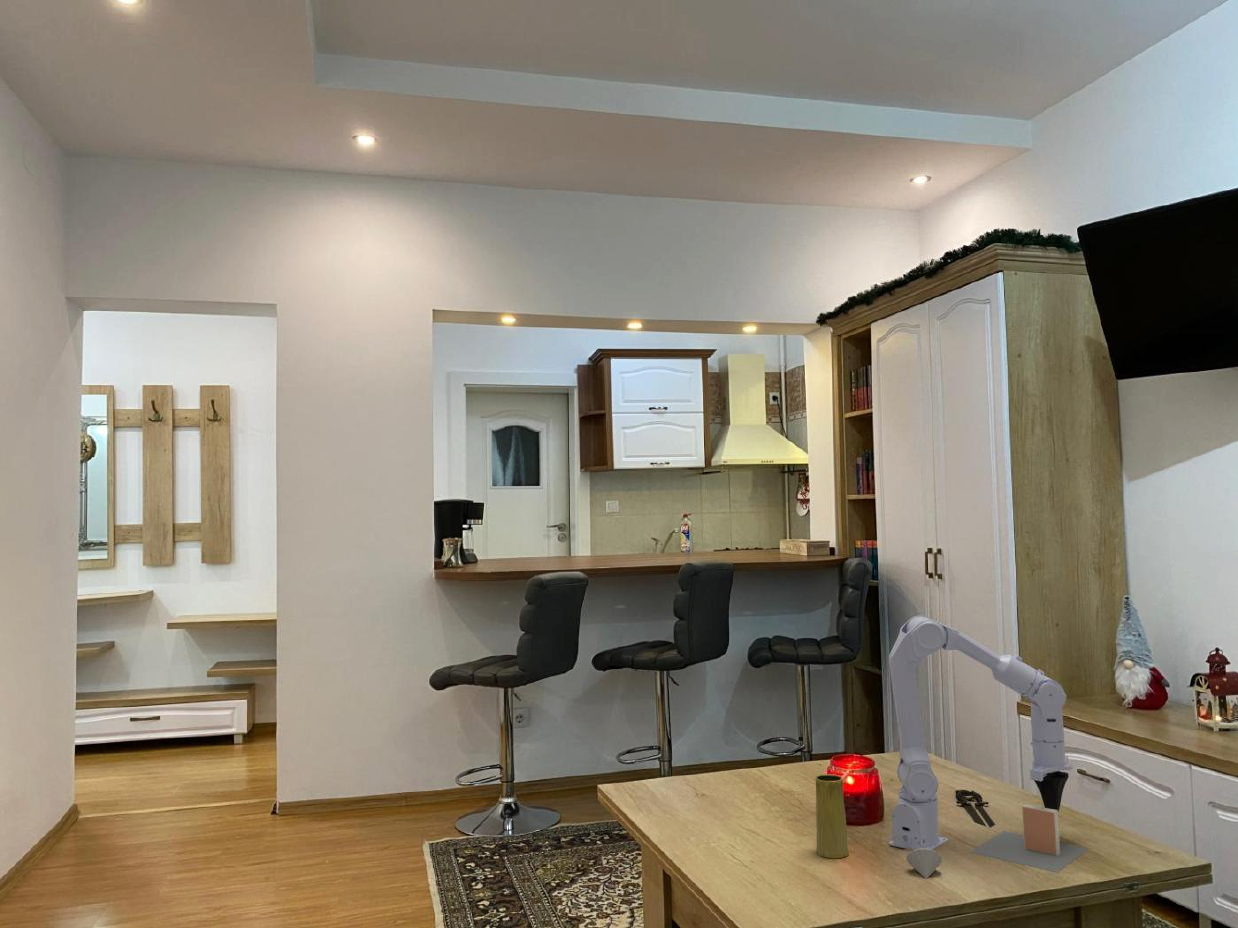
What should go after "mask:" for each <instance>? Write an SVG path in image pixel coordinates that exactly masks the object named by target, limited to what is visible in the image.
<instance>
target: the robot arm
mask: <svg viewBox="0 0 1238 928" xmlns="http://www.w3.org/2000/svg"><path fill="white" fill-rule="evenodd" d="M940 649H942V650H944V651H955V650H956V651H959V652H961V653H962V654H964V655H966V656H968V657H969V658H971V659H973V660H975V661H976V662H978V663H979V664H982V665H984V666H985V667H986V668H989V669H990V670H991V673H992V676H993V678H994V680H995V681H998V682H999V683H1000V684H1002V685H1004V686H1006V687H1007V688H1009V689H1010V690H1012V691H1014V692H1016V693H1017V694H1019V695H1021V696H1022V697H1026V699H1027V700H1028V701H1029V703H1030V725H1031V729H1030V730H1031V741H1032V759H1033V760H1032V762H1031V763H1032V764H1031V768H1030V769H1029V771H1030V773H1029V774H1030V775H1029V776H1030V780H1032V781H1034V783H1035V784H1036V786H1037V789H1038V790H1039V793H1040V796H1041V800H1042V803H1043V808H1049V809H1054V810H1057V811H1058V812H1060V808H1061V803H1062V797H1063V792H1064V788H1065V786H1066V783H1067V782H1068V779H1069V777H1070V776H1069V773H1068V772H1066V771H1070V770H1072V769H1073V764H1071V763H1069V756H1067V755H1066V747H1065V731H1064V730H1065V729H1064V716H1063V706H1064V705H1065V703H1066V702H1067V696H1068V695H1067V694H1066V693H1065V690H1064V688H1063V686H1062V685H1061V684H1060V683H1059V682H1058V681H1056V680H1055V679H1054V680H1053V679H1052V678H1050V677H1048V676H1047V675H1046V674H1045V672H1044V671H1043V670H1041V669H1040V668H1039V669H1035V668H1034V667H1032V666H1031V665H1028V664H1026V663H1025V662H1023V658H1022V657H1020V655H1017V654H1014V655H1012V654H1009V653H1008V654H1002V655H999V654H997V653H995V652H994V651H992V650H990V649H989V648H987V647H986V646H984V645H983V644H981V643H979V642H977V641H976V640H975V639H973V638H971V637H970V636H968V635H966V634H965V633H963V632H961V631H960V630H959V629H956V628H953V627H951V626H949V625H946V624H944V623H941V622H939V621H936V620H933V619H931V618H930V617H928V616H925V615H915V616H912V617H911V618H909V619H908V620H907V621H906V622H905V623H904V624H903V625H902V626H901V627H900V629H899V633H898V636H897V639H896V640H895V642H894V645H893V647H892V649H891V651H890V653H889V656H888V665H889V672H890V678H891V679H890V680H891V688H892V695H893V701H894V702H893V703H894V709H895V717H896V723H897V730H898V738H899V745H900V747H899V751H898V753H899V762H898V765H897V769H896V775H897V778H898V779H899V781H900V783H901V784H902V786H901V788H900V790H899V791H898V803H897V804H896V805H895V806H894V807H893V809H892V812H891V827H892V828H891V829H892V840H890V841H888V845H889V846H894V847H897V848H901V849H905V850H911V851H913V850H916V849H920V848H926V849H930V850H933V851H934V849H936V848H938V847H939V846H941V845H943V844H944V843H946V842H949V839H948V838H946V837H941V836H940V826H939V806H938V794H937V793H938V790H939V781H938V778H937V776H936V774H935V772H933V770H932V766H931V765H932V764H931V760H930V757H929V753H928V749H927V747H926V746H927V745H926V737H925V730H924V723H923V718H922V708H921V701H920V695H919V689H918V688H919V687H918V681H917V674H916V673H917V672H916V668H917V666H918V665H919V664H920V663H922V661H923V660H924V659H925V658H926V657H928V656H930V655H932V654H934V653H936V652H937V651H939V650H940ZM1064 770H1066V771H1064Z"/></svg>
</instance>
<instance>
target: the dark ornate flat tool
mask: <svg viewBox="0 0 1238 928" xmlns="http://www.w3.org/2000/svg"><path fill="white" fill-rule="evenodd" d="M954 792H955V794H954V795H955V799H956V807H962V808H965V810H966V811H967V812H968V814H969V816H970V818H971V819H972V821H974V823H975V824H979V825H982V826H984V827H987V826H988V827H989V828H990V829H992V828H993V827H994V826H996V823H995V821H994V820H993V819H992V817H991V816H990V815H989V813H988V812H987V810H985V808H989V802H988V801H983V797H982V795H981V794H980V793H979V792H975V790H972V789H971V791H969V790H967V789H960V790H959V789H956V790H954ZM975 800H977V801H978V802H976V801H975ZM971 802H972V803H974V806H973V805H972V803H971ZM977 811H978V812H977ZM984 821H985V822H984ZM986 824H987V825H986Z"/></svg>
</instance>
